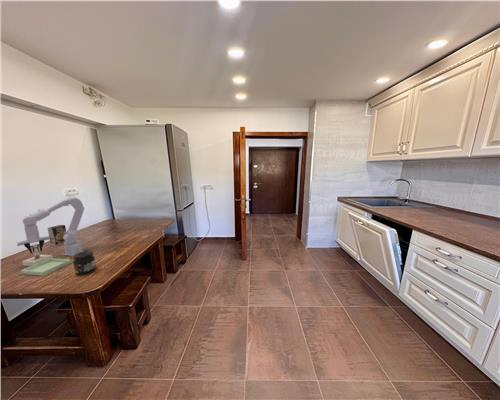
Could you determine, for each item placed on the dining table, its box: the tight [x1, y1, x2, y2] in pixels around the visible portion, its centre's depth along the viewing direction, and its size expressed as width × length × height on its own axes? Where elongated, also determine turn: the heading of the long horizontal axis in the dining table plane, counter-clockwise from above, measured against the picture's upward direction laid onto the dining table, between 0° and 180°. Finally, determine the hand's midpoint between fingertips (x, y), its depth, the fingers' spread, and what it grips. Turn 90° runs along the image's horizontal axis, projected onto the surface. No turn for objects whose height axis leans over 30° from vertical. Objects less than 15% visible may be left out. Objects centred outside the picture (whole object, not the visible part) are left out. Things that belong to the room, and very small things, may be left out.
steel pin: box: [30, 243, 41, 258], centre depth 128 cm, size 4×4×9 cm
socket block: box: [22, 254, 53, 267], centre depth 129 cm, size 10×10×3 cm
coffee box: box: [47, 224, 67, 247], centre depth 159 cm, size 9×6×16 cm
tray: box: [20, 258, 72, 277], centre depth 121 cm, size 16×16×2 cm
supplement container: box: [72, 250, 97, 276], centre depth 117 cm, size 10×10×12 cm
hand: (36, 252), depth 128 cm, fingers closed on steel pin, 4 cm apart
